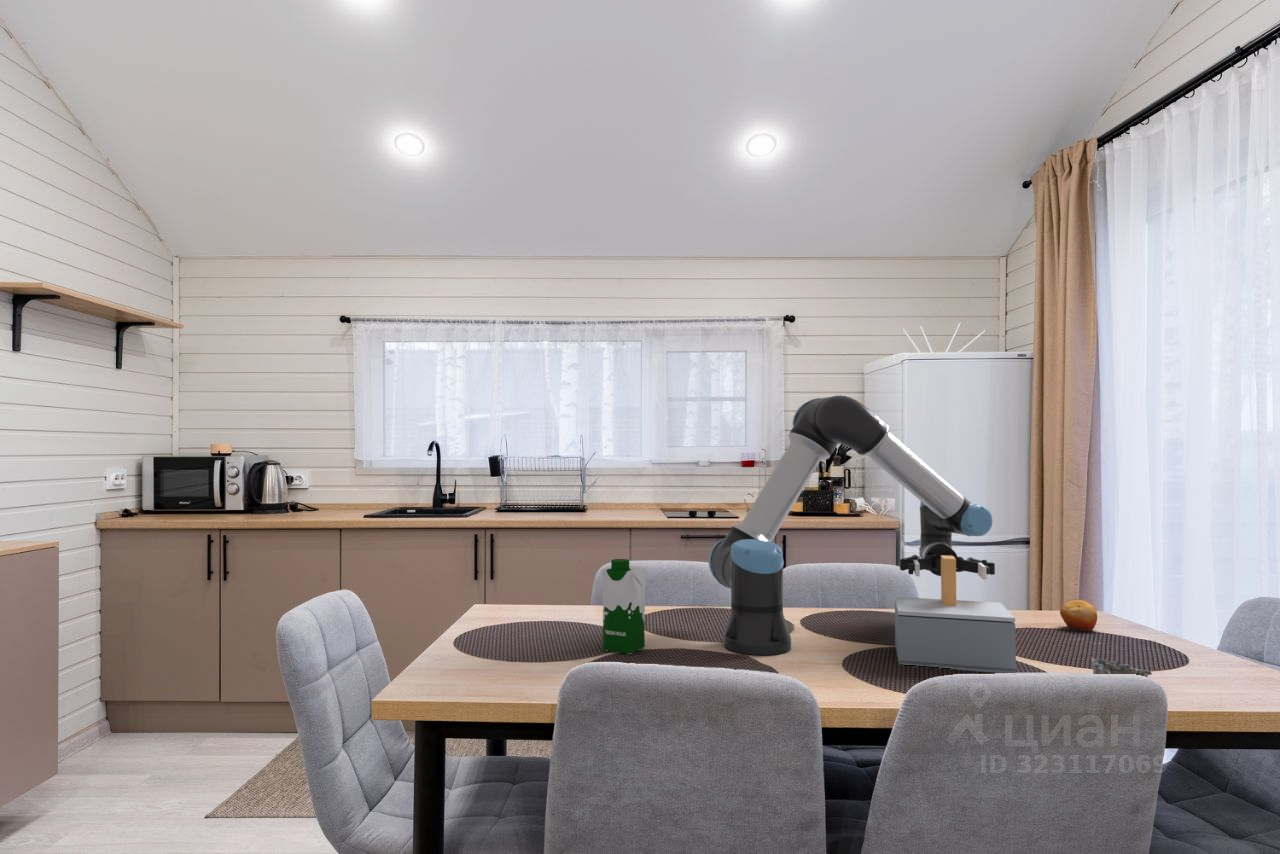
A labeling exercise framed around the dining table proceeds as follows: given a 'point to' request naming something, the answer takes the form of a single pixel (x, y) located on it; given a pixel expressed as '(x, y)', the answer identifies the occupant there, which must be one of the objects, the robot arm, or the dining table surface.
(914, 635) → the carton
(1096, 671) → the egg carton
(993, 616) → the box lid with handle
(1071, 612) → the fruit
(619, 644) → the milk carton
